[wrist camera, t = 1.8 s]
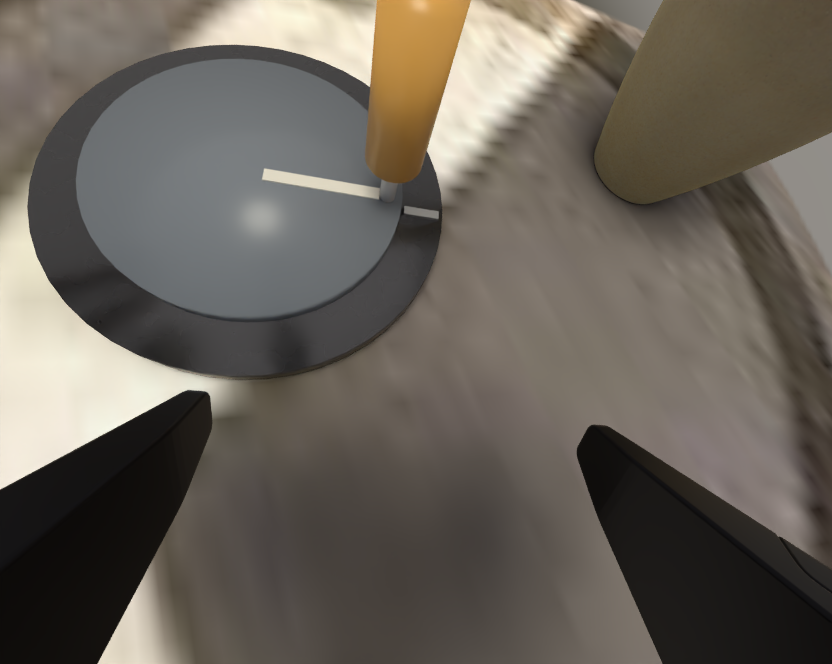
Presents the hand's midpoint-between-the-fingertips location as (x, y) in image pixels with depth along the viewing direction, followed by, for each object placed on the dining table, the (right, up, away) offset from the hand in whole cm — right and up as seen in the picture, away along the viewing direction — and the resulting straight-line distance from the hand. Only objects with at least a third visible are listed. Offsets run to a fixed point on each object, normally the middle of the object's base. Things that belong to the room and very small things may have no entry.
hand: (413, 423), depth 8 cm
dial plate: (-10, +11, +15) cm, 22 cm away
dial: (-10, +11, +14) cm, 21 cm away
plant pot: (+19, +17, +24) cm, 34 cm away
